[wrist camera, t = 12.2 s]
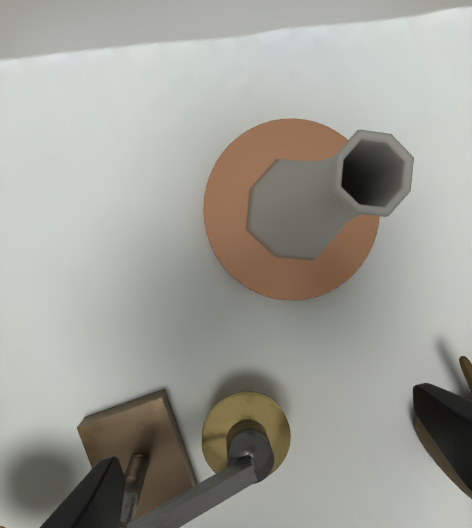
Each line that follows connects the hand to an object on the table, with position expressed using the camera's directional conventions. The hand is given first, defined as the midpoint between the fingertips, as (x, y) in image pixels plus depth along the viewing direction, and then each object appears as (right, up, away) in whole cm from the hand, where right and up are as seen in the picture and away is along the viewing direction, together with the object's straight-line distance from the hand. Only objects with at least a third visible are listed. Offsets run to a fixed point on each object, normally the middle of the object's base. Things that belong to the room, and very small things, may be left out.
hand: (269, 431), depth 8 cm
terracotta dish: (+3, +9, +13) cm, 16 cm away
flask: (+3, +9, +12) cm, 16 cm away
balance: (-8, -9, +13) cm, 18 cm away
